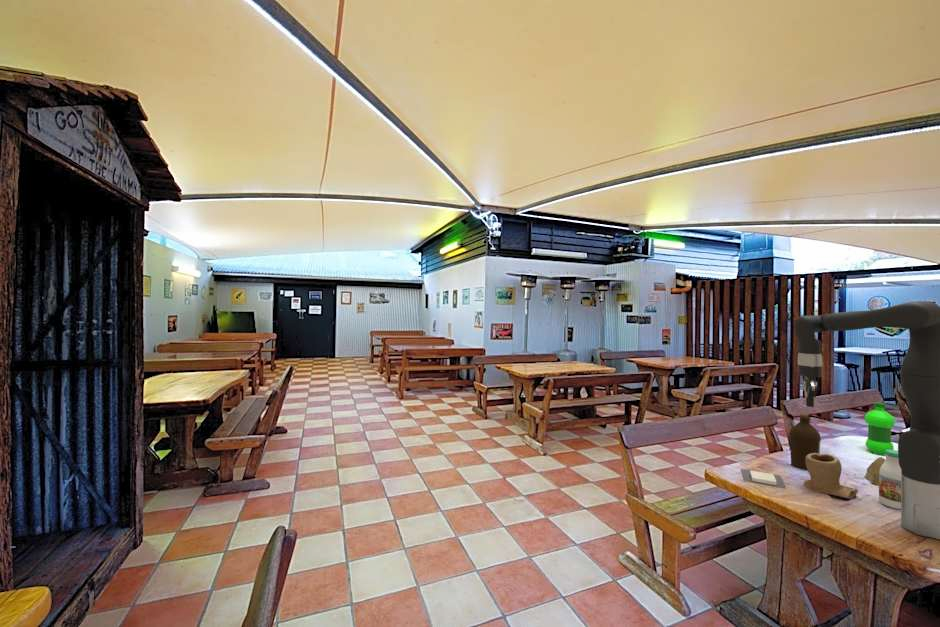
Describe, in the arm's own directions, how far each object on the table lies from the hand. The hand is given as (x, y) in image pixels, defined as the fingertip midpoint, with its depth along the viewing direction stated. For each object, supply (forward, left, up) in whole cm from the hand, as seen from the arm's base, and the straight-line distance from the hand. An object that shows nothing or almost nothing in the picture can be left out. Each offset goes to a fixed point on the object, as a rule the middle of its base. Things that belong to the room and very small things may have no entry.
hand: (809, 406), depth 156 cm
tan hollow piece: (-4, -5, -33) cm, 34 cm away
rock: (+20, -24, -33) cm, 46 cm away
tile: (-2, +16, -31) cm, 35 cm away
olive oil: (+20, -2, -33) cm, 39 cm away
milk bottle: (-4, -23, -33) cm, 41 cm away
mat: (-4, +16, -33) cm, 37 cm away
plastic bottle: (+63, -38, -33) cm, 81 cm away
